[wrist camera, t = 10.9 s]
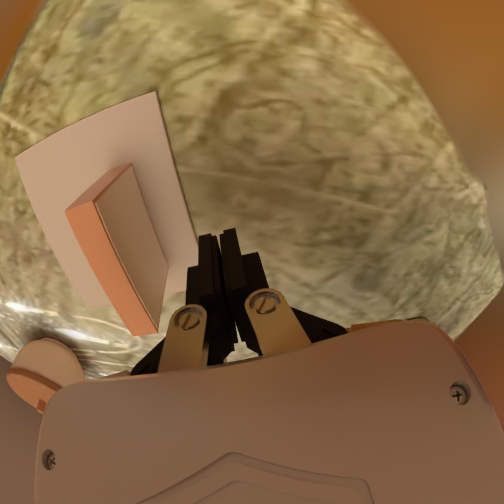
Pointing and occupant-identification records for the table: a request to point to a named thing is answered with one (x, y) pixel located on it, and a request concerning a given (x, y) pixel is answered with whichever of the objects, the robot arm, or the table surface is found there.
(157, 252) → the block
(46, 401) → the lidded jar
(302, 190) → the table surface
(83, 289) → the mat
